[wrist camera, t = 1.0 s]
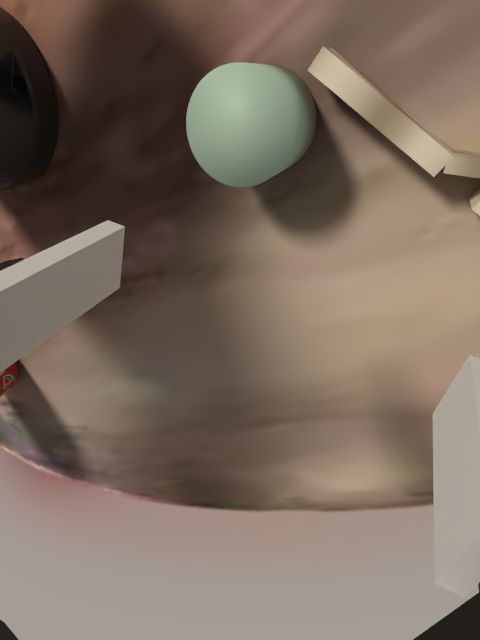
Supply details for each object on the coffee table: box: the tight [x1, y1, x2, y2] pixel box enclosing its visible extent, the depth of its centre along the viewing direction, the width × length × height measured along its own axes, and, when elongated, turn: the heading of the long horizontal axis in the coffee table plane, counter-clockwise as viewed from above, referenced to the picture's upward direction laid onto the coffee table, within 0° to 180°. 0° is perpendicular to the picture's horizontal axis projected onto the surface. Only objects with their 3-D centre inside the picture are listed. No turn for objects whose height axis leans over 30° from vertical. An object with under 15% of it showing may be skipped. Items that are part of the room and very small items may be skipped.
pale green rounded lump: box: [186, 62, 317, 188], centre depth 30 cm, size 7×7×6 cm
